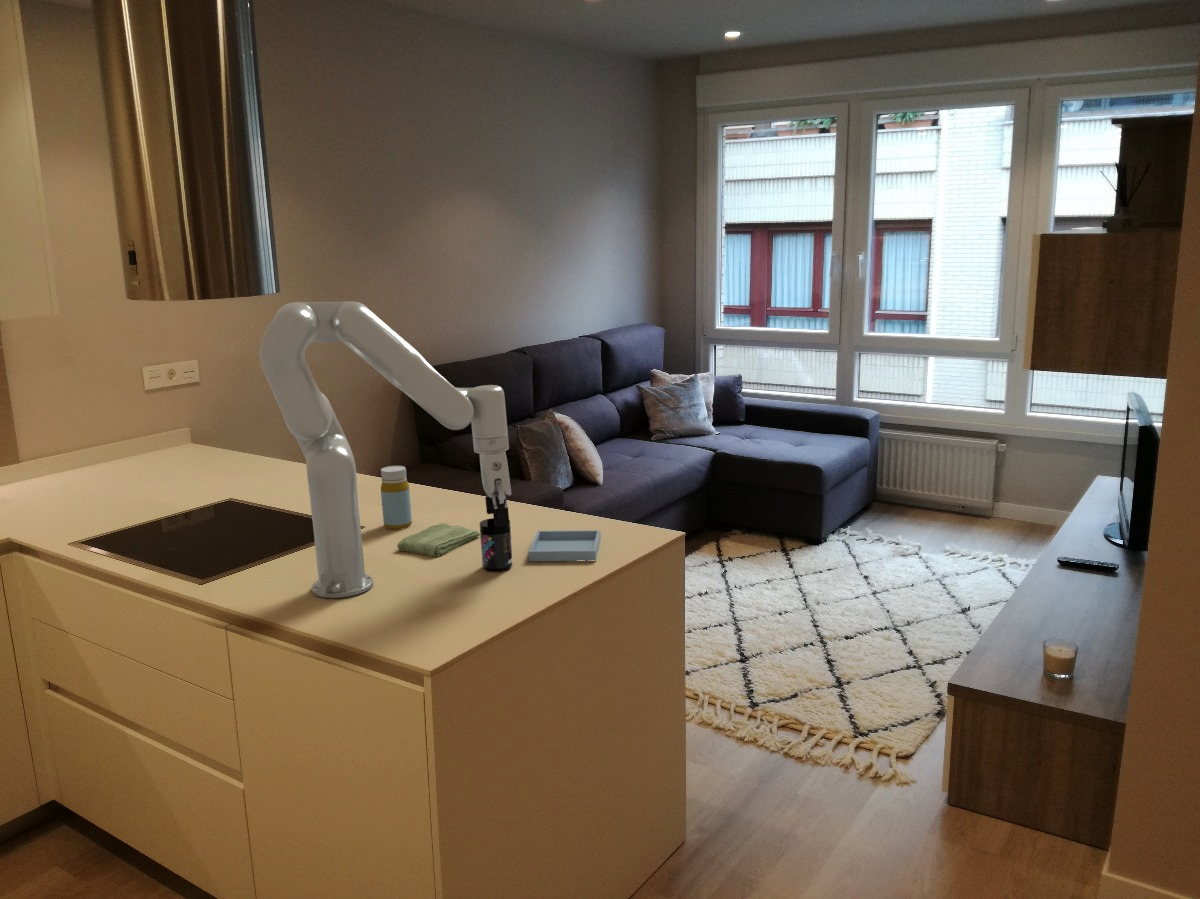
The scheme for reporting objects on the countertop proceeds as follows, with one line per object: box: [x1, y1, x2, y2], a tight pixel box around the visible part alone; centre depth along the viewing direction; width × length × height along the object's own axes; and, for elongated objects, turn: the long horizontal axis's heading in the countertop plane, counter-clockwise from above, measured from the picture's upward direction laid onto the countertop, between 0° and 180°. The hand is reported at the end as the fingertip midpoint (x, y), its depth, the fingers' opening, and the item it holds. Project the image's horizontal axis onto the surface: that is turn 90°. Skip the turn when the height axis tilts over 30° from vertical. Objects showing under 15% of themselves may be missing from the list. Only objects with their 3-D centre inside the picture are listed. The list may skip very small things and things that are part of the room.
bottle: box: [380, 465, 413, 530], centre depth 250 cm, size 7×7×15 cm
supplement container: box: [479, 517, 513, 573], centre depth 218 cm, size 7×7×10 cm
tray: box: [528, 529, 602, 562], centre depth 228 cm, size 15×15×2 cm
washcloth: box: [397, 522, 480, 557], centre depth 236 cm, size 13×18×3 cm
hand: (497, 519), depth 216 cm, fingers open, 9 cm apart
